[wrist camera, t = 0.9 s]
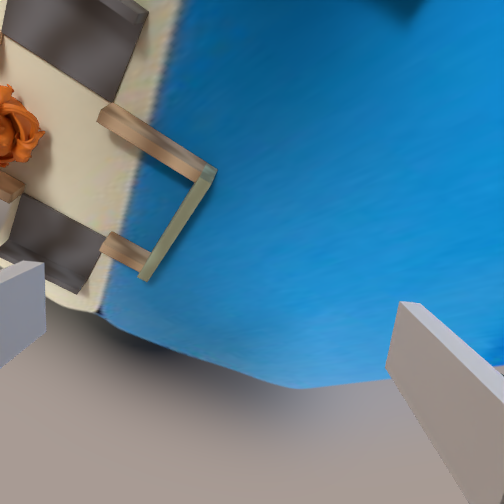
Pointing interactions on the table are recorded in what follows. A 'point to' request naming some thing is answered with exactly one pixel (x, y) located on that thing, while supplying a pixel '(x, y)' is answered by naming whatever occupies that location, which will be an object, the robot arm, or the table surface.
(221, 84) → the table surface
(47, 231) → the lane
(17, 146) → the orange sculpted figure
